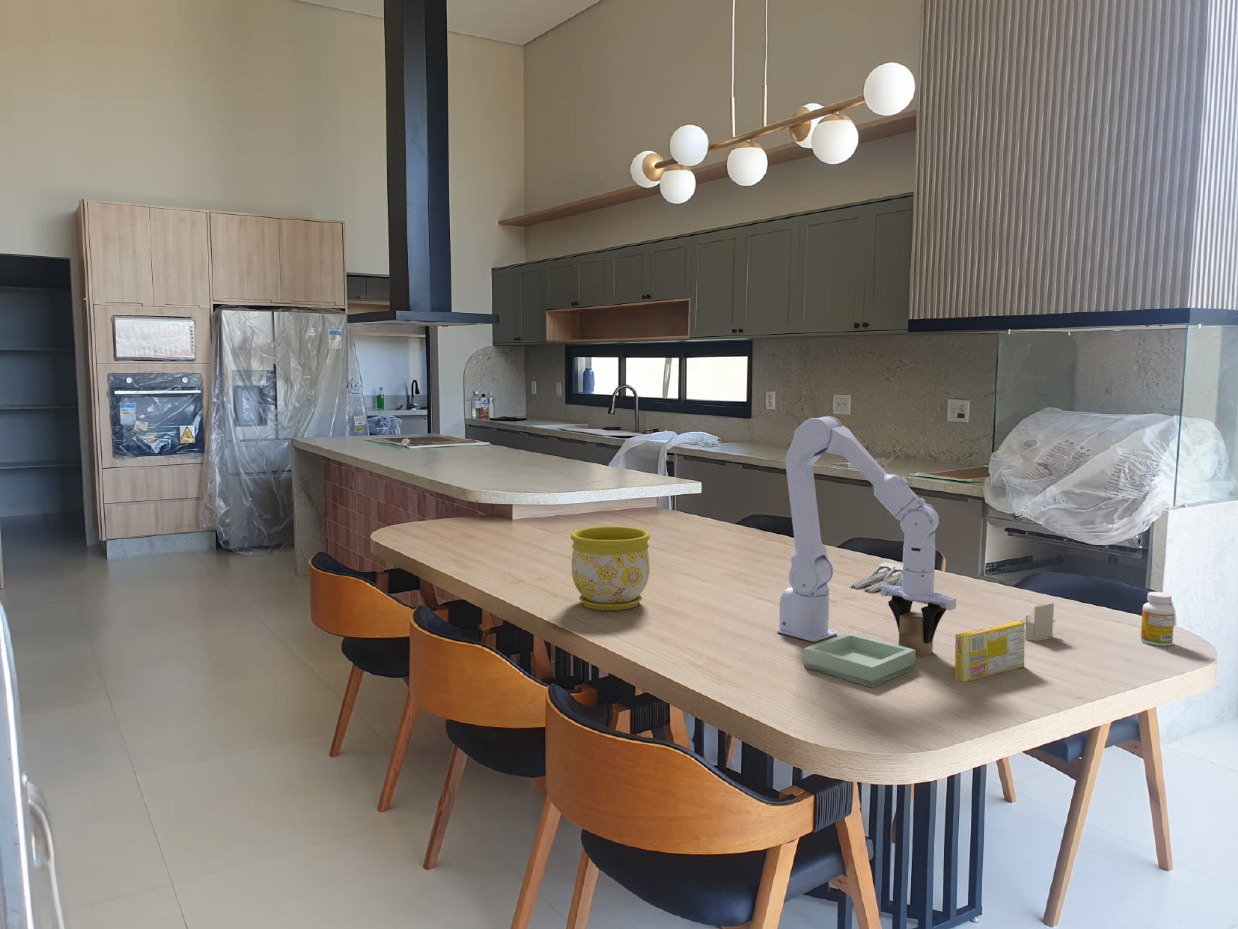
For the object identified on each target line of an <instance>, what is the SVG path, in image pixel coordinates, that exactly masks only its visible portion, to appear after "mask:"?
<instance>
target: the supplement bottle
mask: <svg viewBox="0 0 1238 929" xmlns="http://www.w3.org/2000/svg"><path fill="white" fill-rule="evenodd" d="M1146 599H1147V601H1148V602H1146V603H1144V604H1143V605H1142V610H1141V611H1142V614H1141V626H1140V627H1141V629H1140V641H1141V642H1143V643H1145V644H1147V645H1149V646H1157V647H1169V646H1172V645H1173V641H1174V625H1175V612H1176V611H1175V608H1174V607H1173V606H1172V605H1171V603H1172V595H1171V594H1170V593H1167V592H1162V591H1150V592H1147V598H1146Z"/></svg>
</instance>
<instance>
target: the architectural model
mask: <svg viewBox="0 0 1238 929" xmlns="http://www.w3.org/2000/svg"><path fill="white" fill-rule="evenodd" d="M1054 605H1055V603H1054V602H1051V603H1042V602H1037V603H1036V605H1035V606H1034V608H1033V610H1032V611H1031V613H1030V614H1029V615H1025V616H1026V617H1025V619H1024V620H1019V622H1023V623H1025V624H1024V625H1025V633H1024V640H1028V641H1031V642H1036V641H1040V640H1041V641H1042V640H1046V639H1051V638H1053V628H1054V623H1056V619H1054V608H1055V606H1054Z"/></svg>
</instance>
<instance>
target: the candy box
mask: <svg viewBox="0 0 1238 929" xmlns="http://www.w3.org/2000/svg"><path fill="white" fill-rule="evenodd" d="M1025 625H1026V624H1025V623H1023V622H1020V620H1016V621H1012V622H1008V623H1003V624H1002V623H1001V624H996V625H993V626H989V627H985V628H980V629H974V630H971V631H970V630H969V631H967V632H961V633H958V634H955V641H954V642H955V644H954V645H955V650H954V651H955V653H954V654H955V656H954V660H955V662H954V680H956V681H959V682H961V683H964V681H965V682H968V681H972V680H977V679H981V678H985V677H988V676H992V675H997V674H1001V673H1005V672H1008V671H1009V672H1010V671H1012V670H1017V669H1020V668H1025Z"/></svg>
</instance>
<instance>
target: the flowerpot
mask: <svg viewBox="0 0 1238 929" xmlns="http://www.w3.org/2000/svg"><path fill="white" fill-rule="evenodd" d="M570 538H571V540H572V541H573V544H572V556H571V576H572V581H573V583H574V585H575V588H576V589H577V591H578V592H579V594H581V595H580V596H578V599H579V600H580V602H582V604H583V605H584V606H585V607H586V608H588V609H591V610H595V609H597V611H604V610H617V611H623V609H625V610H629V608H630V609H632V608H634V607H636V606H638V604H639V602H641V600H642V599H643V597H642V595H641V594H642V593H643V591H644V589H645V588H646V586H647V584H648V580H649V578H650V555H649V543H648V541H649V540H650V538H651V534H650V533H649V531H647V530H645V529H642V528H636V527H630V526H611V525H609V526H594V527H593V526H591V527H586V528H585V527H584V528H579V529H576V530H574V531H573V532H571V534H570Z"/></svg>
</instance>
